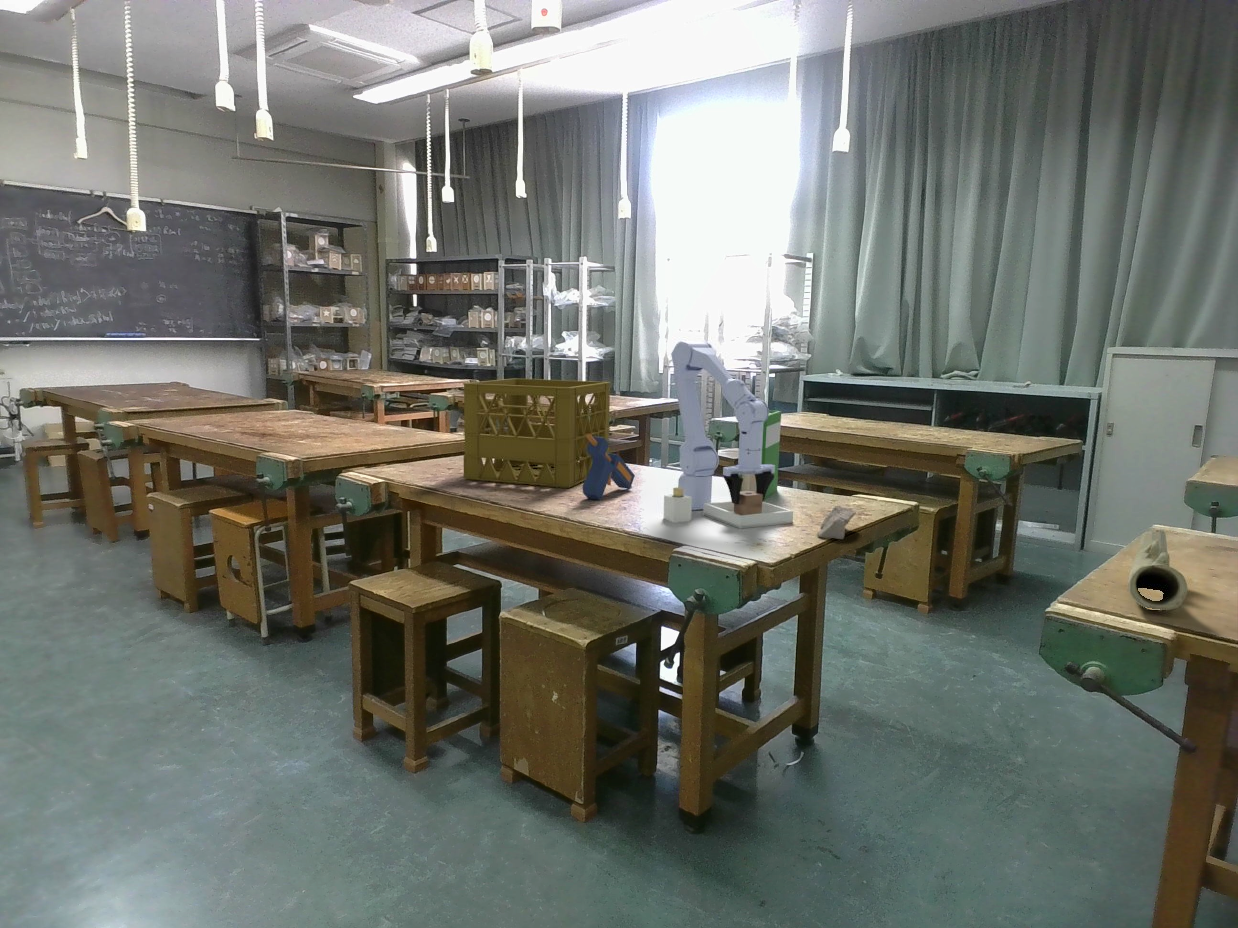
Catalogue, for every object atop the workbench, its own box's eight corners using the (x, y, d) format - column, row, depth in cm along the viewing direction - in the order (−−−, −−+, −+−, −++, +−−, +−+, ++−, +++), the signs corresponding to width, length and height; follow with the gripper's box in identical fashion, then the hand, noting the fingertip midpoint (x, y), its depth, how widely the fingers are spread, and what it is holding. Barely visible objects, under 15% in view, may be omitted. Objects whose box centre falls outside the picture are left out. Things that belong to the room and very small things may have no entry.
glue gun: (623, 525, 233) (639, 481, 238) (587, 478, 208) (605, 429, 213) (605, 522, 235) (621, 478, 241) (567, 475, 210) (585, 427, 216)
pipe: (1185, 621, 132) (1193, 562, 130) (1126, 612, 135) (1133, 555, 134) (1159, 577, 156) (1166, 528, 155) (1110, 571, 160) (1116, 522, 159)
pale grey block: (663, 518, 198) (664, 487, 197) (680, 516, 201) (681, 485, 199) (673, 522, 194) (674, 490, 193) (691, 521, 196) (692, 489, 195)
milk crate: (463, 480, 245) (462, 383, 240) (514, 463, 278) (514, 378, 273) (569, 489, 234) (570, 388, 229) (609, 471, 267) (611, 382, 262)
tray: (703, 514, 203) (703, 503, 203) (753, 509, 210) (754, 498, 210) (739, 528, 189) (740, 516, 189) (792, 522, 196) (793, 511, 196)
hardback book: (762, 501, 222) (767, 416, 218) (737, 498, 225) (741, 414, 221) (777, 490, 238) (781, 411, 234) (752, 488, 241) (756, 409, 237)
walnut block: (733, 515, 201) (734, 491, 200) (749, 513, 203) (750, 490, 202) (745, 519, 196) (746, 495, 195) (761, 517, 198) (762, 494, 197)
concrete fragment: (811, 537, 183) (813, 511, 182) (830, 526, 195) (832, 501, 194) (841, 542, 179) (843, 516, 178) (859, 530, 191) (861, 505, 190)
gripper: (735, 452, 190) (733, 507, 192) (783, 449, 197) (780, 503, 199) (719, 448, 196) (716, 502, 199) (766, 446, 203) (763, 497, 205)
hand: (747, 502), depth 199 cm, fingers open, 7 cm apart
